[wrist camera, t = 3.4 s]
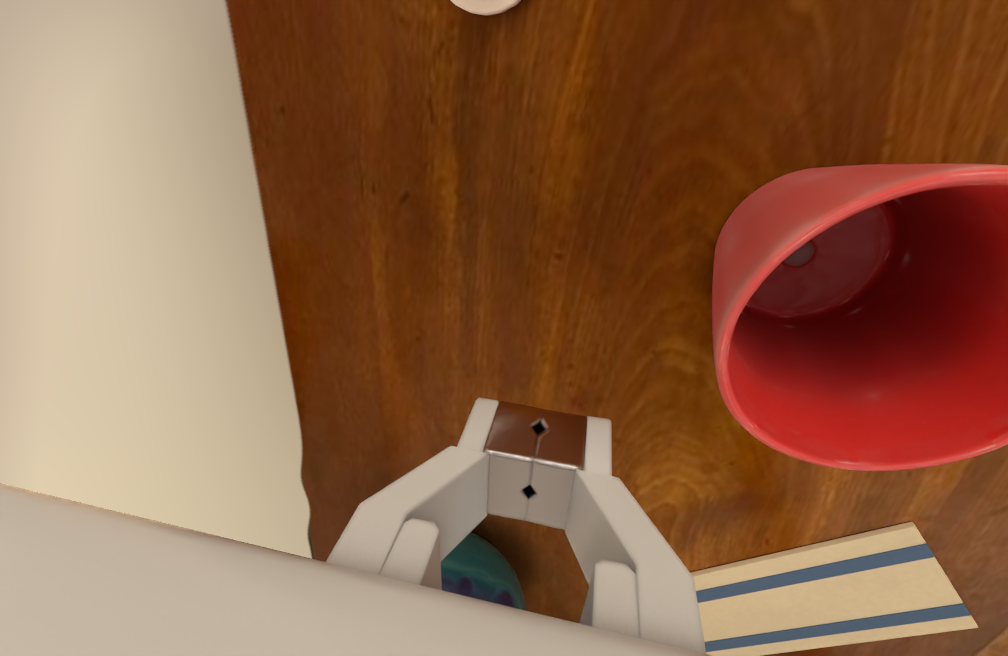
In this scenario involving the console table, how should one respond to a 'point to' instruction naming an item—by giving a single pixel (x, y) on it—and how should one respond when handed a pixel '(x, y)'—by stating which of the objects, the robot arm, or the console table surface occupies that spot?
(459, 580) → the vase
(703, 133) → the console table surface
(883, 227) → the flower pot
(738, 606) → the cloth
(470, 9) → the candle
